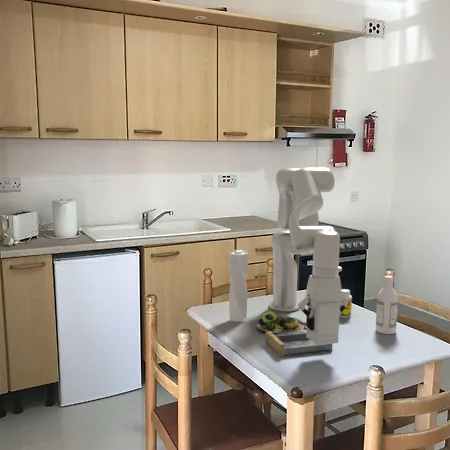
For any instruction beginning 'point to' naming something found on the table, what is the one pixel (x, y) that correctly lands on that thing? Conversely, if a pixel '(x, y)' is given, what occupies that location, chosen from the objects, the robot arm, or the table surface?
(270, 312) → the salad plate
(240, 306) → the skyscraper
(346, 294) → the supplement bottle
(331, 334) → the supplement box
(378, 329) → the bath foam
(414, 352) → the table surface
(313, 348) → the channel bracket
